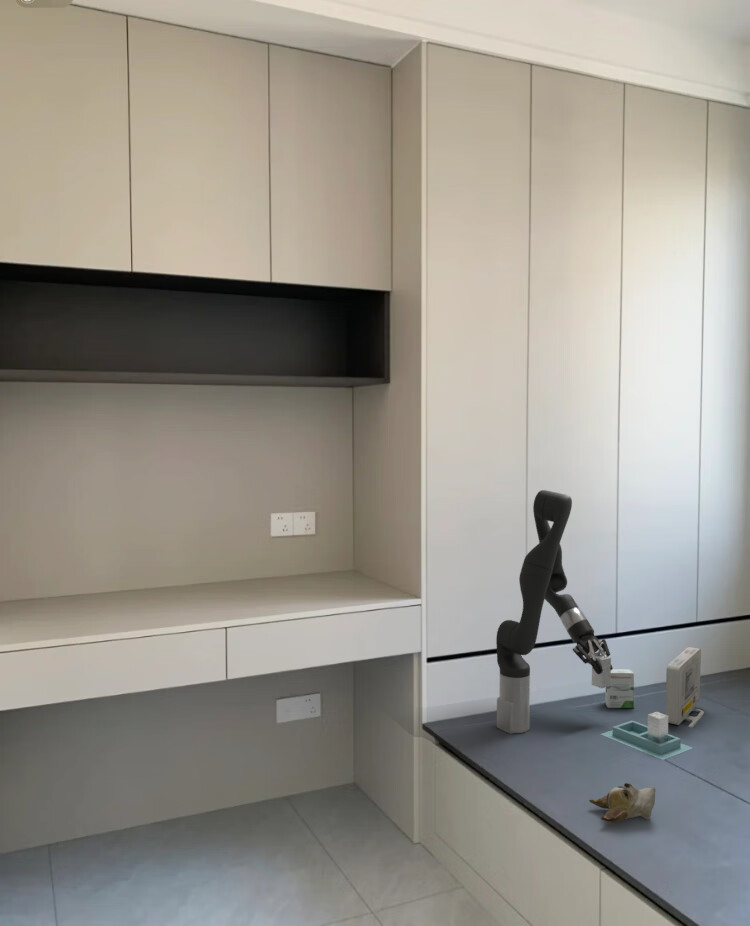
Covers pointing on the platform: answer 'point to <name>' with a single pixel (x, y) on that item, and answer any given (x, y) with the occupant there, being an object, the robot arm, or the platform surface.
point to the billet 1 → (604, 677)
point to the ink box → (620, 689)
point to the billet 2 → (657, 727)
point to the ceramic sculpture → (626, 803)
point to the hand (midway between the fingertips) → (605, 671)
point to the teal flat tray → (645, 740)
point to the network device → (683, 687)
